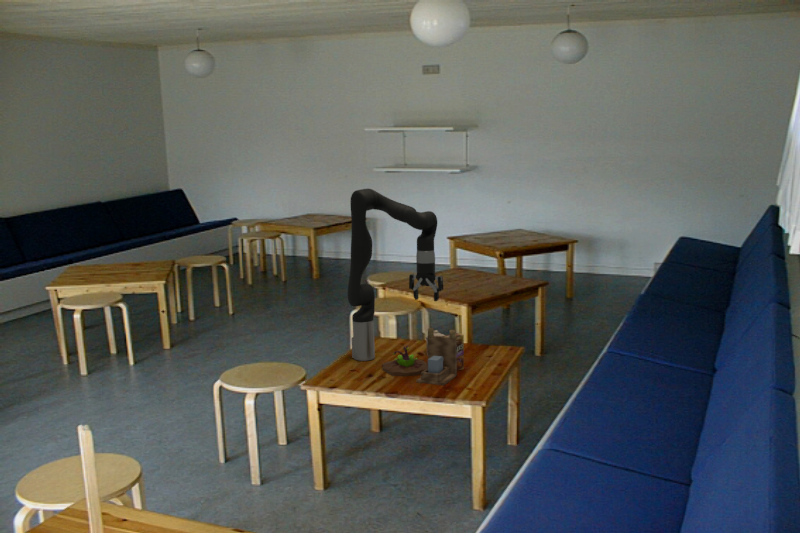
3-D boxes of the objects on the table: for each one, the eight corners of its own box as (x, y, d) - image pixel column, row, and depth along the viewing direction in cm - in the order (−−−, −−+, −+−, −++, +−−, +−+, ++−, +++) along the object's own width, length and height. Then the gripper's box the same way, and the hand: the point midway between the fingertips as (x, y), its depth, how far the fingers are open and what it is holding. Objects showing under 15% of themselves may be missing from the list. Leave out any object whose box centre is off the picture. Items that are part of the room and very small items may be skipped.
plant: (390, 380, 306) (389, 353, 304) (377, 367, 324) (376, 342, 322) (436, 374, 312) (435, 348, 310) (420, 362, 330) (420, 337, 328)
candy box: (447, 373, 311) (446, 337, 308) (441, 371, 314) (440, 335, 312) (464, 369, 316) (463, 334, 313) (458, 367, 319) (457, 332, 317)
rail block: (428, 378, 301) (427, 359, 300) (435, 373, 307) (434, 355, 306) (437, 379, 300) (437, 360, 298) (444, 374, 306) (443, 355, 304)
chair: (416, 382, 300) (414, 336, 298) (430, 372, 313) (429, 327, 310) (444, 385, 295) (443, 338, 292) (457, 375, 308) (456, 330, 305)
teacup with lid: (427, 353, 342) (426, 328, 341) (447, 353, 341) (446, 328, 339) (424, 360, 331) (423, 334, 329) (445, 360, 329) (444, 334, 328)
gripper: (405, 261, 303) (406, 300, 306) (438, 263, 297) (438, 303, 300) (413, 258, 310) (414, 297, 312) (445, 260, 303) (445, 299, 306)
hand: (426, 300), depth 306 cm, fingers open, 8 cm apart
